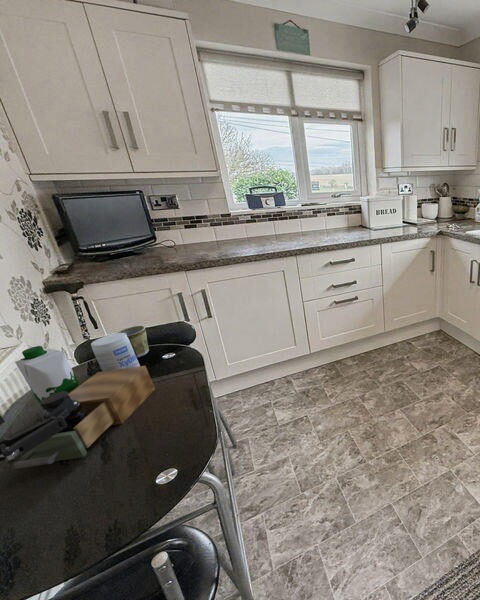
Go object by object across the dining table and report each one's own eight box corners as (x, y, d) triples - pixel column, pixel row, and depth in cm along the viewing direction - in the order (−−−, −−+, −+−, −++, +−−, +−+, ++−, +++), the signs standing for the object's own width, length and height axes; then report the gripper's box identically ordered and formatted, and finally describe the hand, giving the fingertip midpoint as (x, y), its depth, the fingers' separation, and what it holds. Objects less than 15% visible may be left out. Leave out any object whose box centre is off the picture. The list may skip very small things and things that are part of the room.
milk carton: (77, 396, 104) (47, 341, 97) (94, 401, 101) (64, 344, 93) (41, 415, 96) (6, 356, 89) (58, 420, 93) (23, 360, 86)
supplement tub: (133, 381, 109) (115, 343, 104) (101, 387, 108) (81, 348, 102) (147, 366, 118) (132, 330, 113) (118, 371, 117) (101, 335, 111)
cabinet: (122, 423, 89) (109, 397, 86) (68, 431, 88) (52, 405, 85) (155, 389, 104) (145, 365, 101) (109, 395, 103) (97, 371, 100)
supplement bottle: (78, 425, 87) (57, 388, 82) (100, 426, 86) (81, 388, 82) (50, 446, 80) (26, 406, 76) (74, 446, 79) (51, 406, 75)
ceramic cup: (158, 350, 130) (149, 328, 126) (128, 363, 122) (118, 339, 118) (144, 344, 136) (135, 322, 133) (115, 355, 129) (105, 333, 125)
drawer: (68, 472, 74) (54, 448, 71) (8, 481, 72) (-9, 458, 70) (124, 415, 91) (114, 395, 89) (76, 422, 90) (64, 402, 88)
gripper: (-145, 529, 53) (-23, 436, 72) (37, 486, 58) (106, 410, 77) (-178, 496, 50) (-42, 409, 70) (16, 454, 55) (92, 383, 75)
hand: (36, 409), depth 74 cm, fingers open, 13 cm apart
